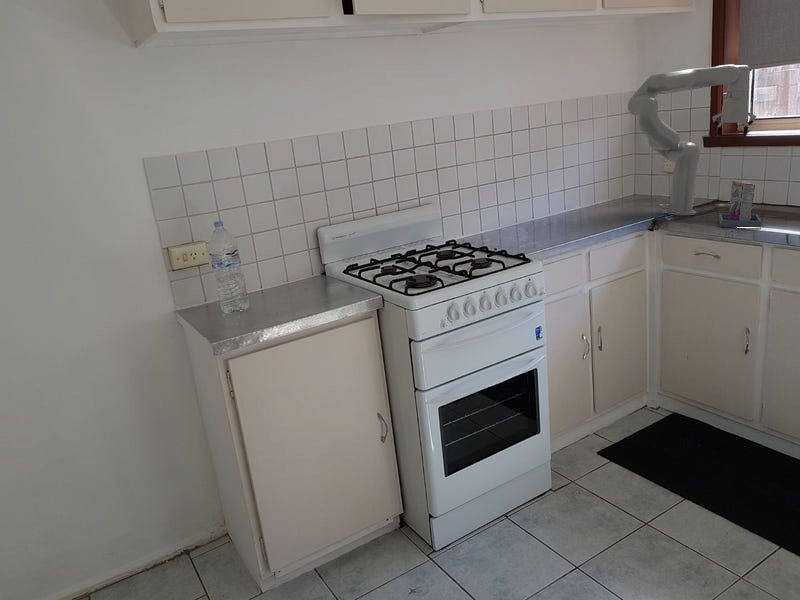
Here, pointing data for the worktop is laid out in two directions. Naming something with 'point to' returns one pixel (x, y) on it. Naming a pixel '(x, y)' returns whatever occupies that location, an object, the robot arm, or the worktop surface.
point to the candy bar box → (741, 201)
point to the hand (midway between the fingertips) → (731, 136)
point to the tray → (738, 222)
